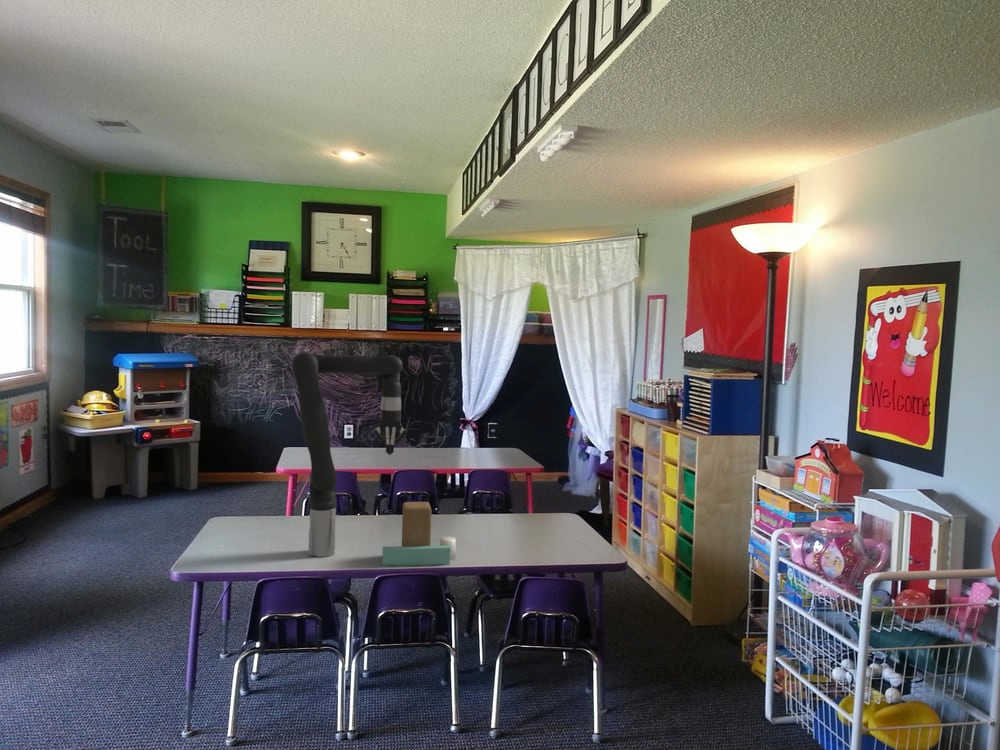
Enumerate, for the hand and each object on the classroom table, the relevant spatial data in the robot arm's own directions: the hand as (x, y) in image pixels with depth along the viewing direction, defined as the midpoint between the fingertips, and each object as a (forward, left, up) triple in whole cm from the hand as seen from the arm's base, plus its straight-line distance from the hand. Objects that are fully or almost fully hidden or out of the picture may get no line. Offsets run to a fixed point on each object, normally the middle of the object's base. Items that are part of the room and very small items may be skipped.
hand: (389, 454), depth 263 cm
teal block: (+10, -16, -37) cm, 42 cm away
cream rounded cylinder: (+22, -10, -37) cm, 44 cm away
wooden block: (+10, -9, -37) cm, 40 cm away
